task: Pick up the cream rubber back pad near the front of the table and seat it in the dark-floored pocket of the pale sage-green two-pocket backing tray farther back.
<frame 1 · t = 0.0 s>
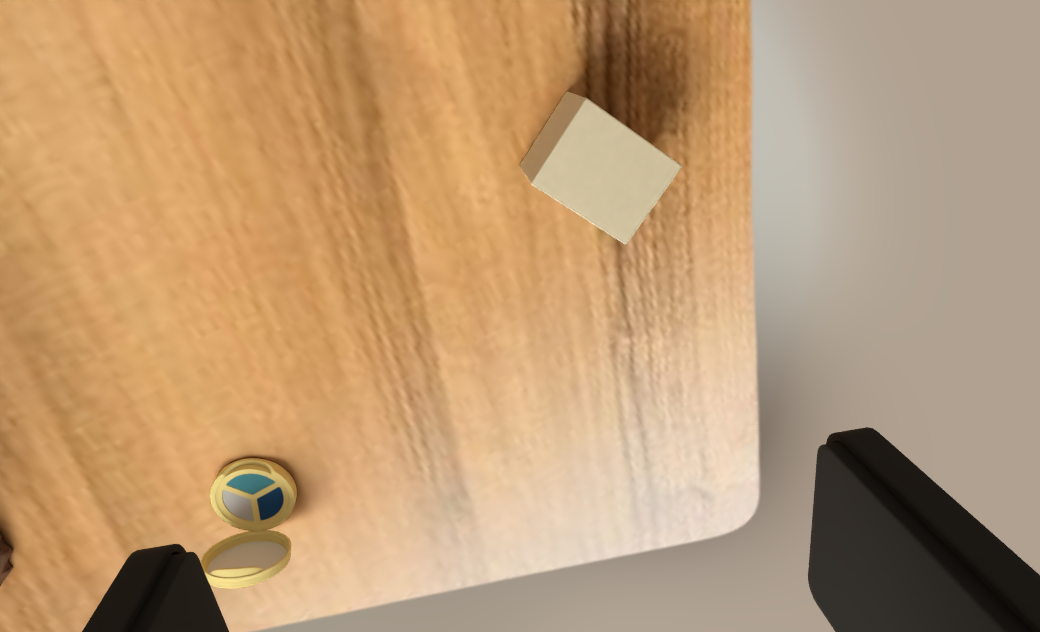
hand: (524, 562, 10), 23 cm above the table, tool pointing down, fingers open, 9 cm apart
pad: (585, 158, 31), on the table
eyeshadow: (257, 493, 36), on the table
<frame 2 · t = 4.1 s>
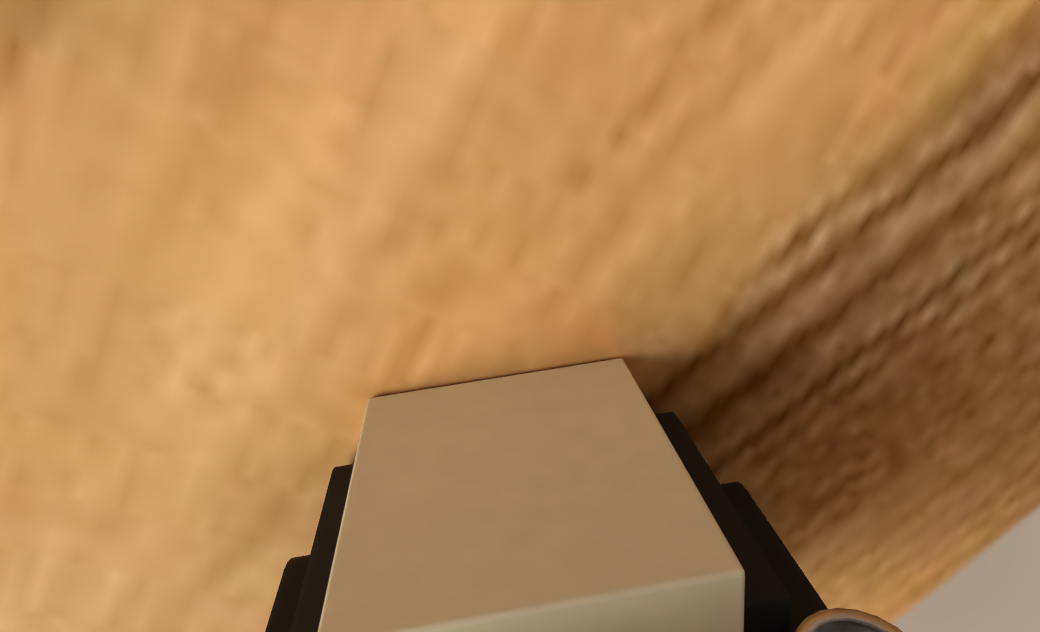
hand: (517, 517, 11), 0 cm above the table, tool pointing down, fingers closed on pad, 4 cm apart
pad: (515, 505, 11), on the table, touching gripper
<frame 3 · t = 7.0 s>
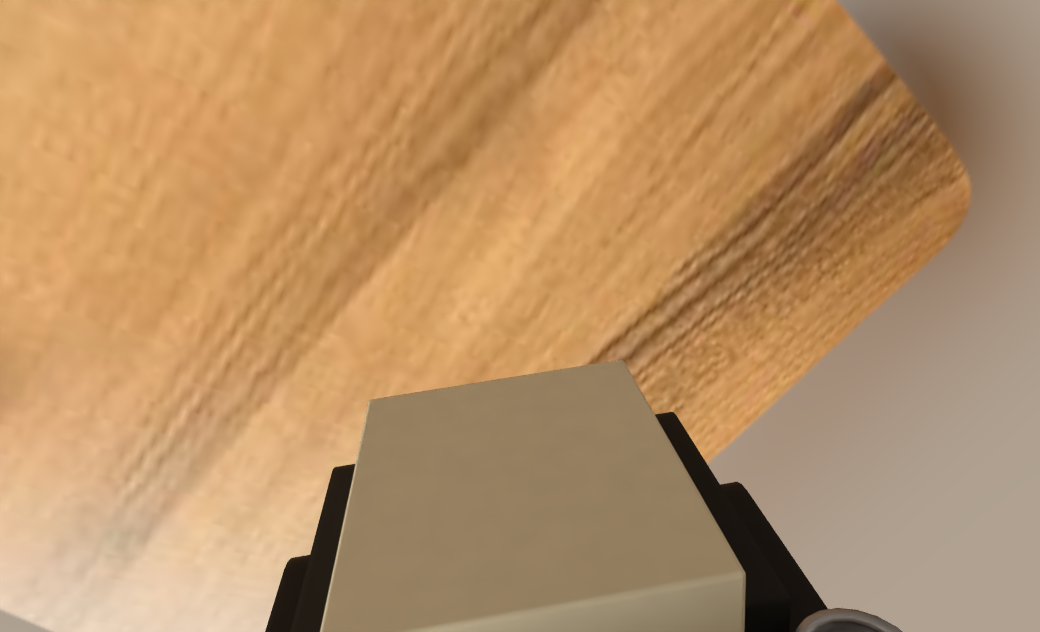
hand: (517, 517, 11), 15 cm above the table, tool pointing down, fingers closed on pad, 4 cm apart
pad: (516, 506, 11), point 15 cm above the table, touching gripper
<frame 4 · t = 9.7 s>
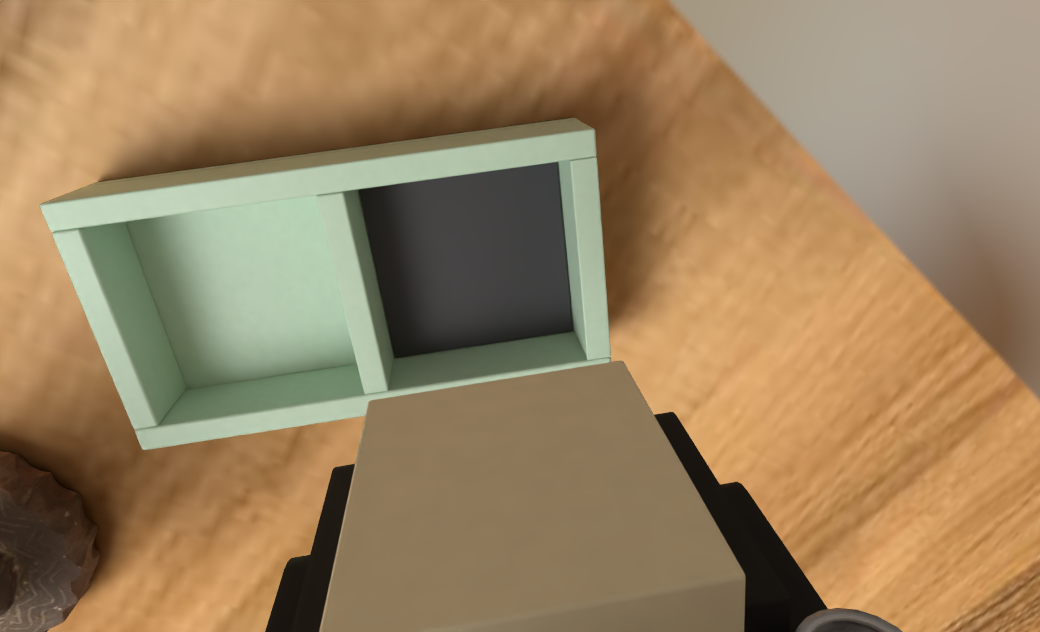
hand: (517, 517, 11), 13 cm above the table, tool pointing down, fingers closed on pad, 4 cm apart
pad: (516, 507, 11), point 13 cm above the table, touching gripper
pad tray: (366, 267, 22), on the table
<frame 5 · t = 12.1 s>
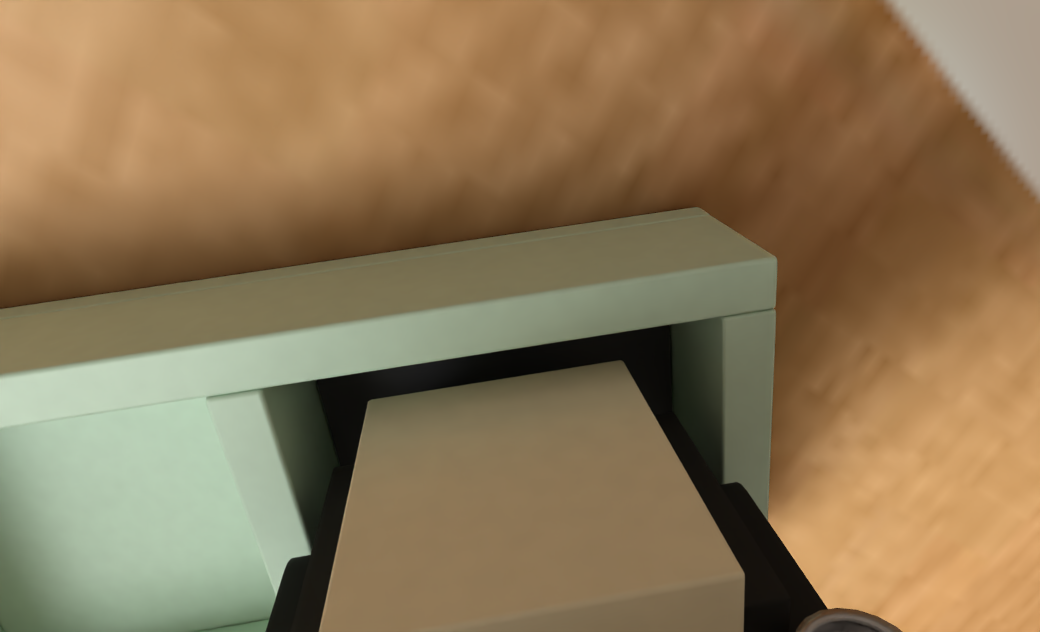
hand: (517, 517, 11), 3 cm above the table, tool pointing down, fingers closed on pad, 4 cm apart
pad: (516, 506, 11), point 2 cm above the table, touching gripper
pad tray: (326, 458, 13), on the table
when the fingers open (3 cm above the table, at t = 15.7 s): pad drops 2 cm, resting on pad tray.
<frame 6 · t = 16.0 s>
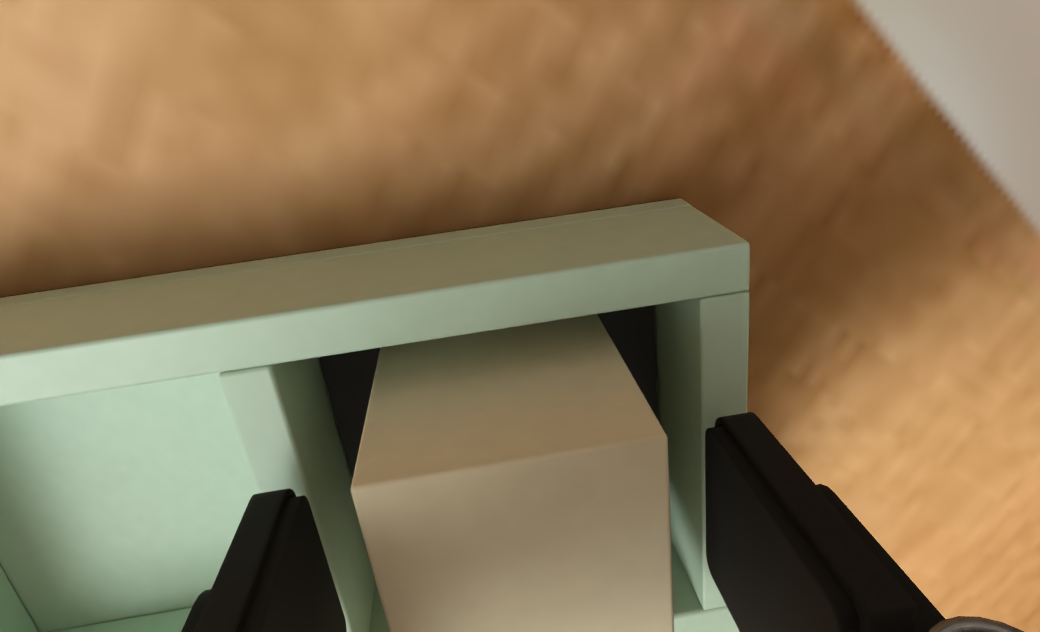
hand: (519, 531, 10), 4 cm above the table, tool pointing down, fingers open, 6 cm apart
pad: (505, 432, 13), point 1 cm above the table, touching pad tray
pad tray: (329, 438, 14), on the table
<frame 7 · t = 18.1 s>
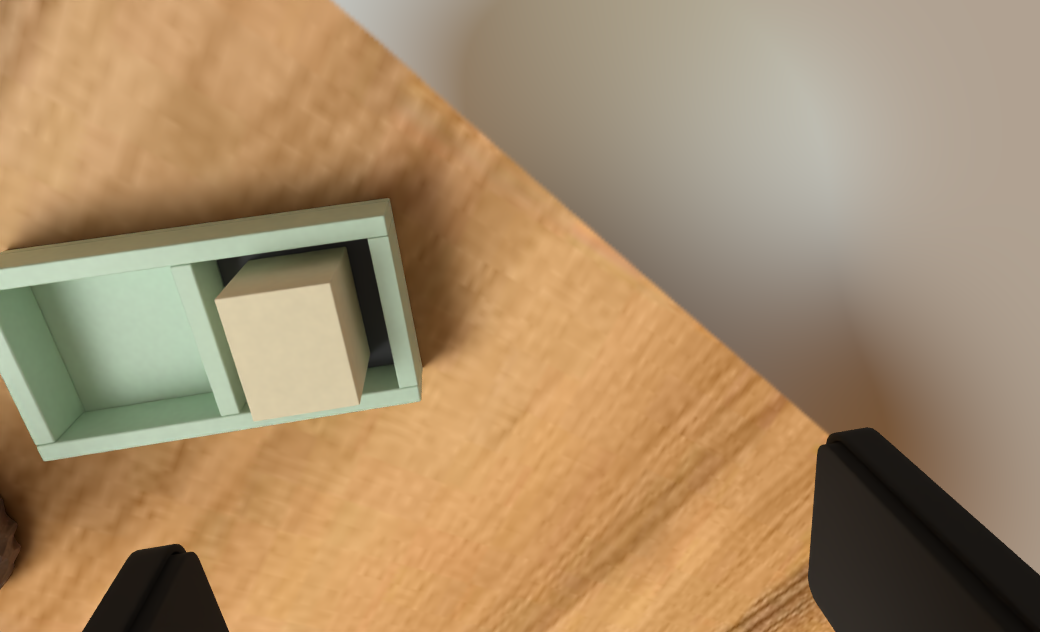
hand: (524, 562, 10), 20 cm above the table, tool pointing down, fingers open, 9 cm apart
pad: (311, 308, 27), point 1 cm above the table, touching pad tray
pad tray: (229, 314, 28), on the table
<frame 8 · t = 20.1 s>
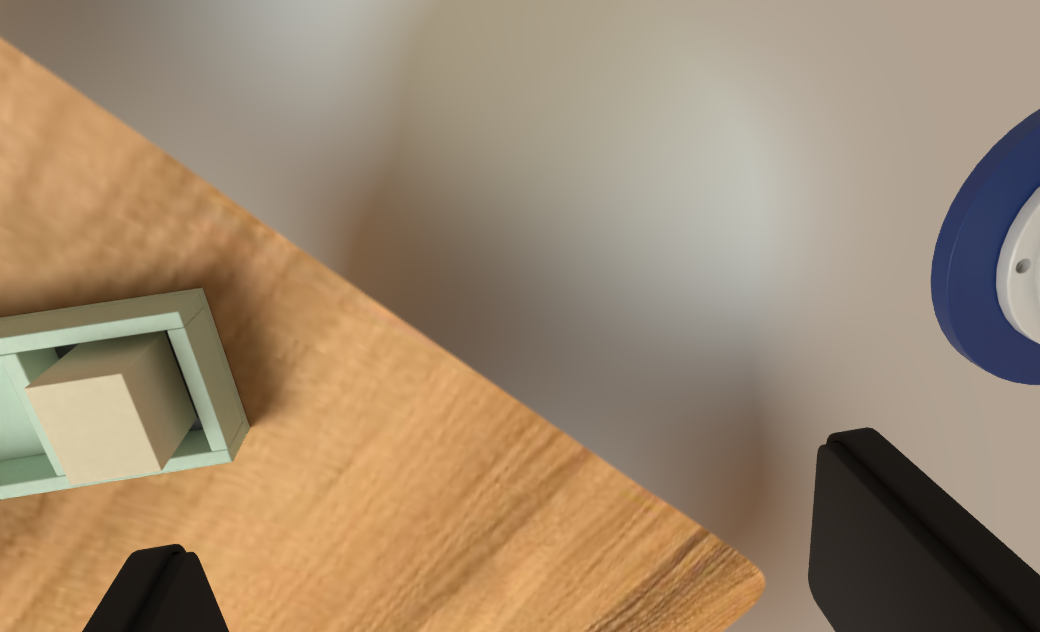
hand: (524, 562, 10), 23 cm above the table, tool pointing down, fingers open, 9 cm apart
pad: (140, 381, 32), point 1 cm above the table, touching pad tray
pad tray: (72, 385, 32), on the table
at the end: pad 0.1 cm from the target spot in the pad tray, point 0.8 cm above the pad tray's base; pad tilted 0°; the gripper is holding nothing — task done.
